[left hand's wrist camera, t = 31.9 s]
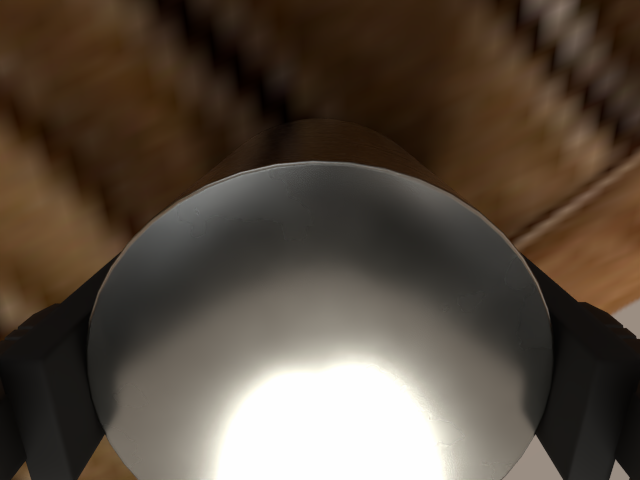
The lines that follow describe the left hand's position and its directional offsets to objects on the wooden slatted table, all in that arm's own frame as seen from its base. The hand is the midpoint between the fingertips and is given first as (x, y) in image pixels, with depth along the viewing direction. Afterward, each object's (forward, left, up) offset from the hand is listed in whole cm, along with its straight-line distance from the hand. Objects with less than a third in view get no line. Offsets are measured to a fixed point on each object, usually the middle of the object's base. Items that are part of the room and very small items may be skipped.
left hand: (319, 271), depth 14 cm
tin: (0, 0, -3) cm, 3 cm away
